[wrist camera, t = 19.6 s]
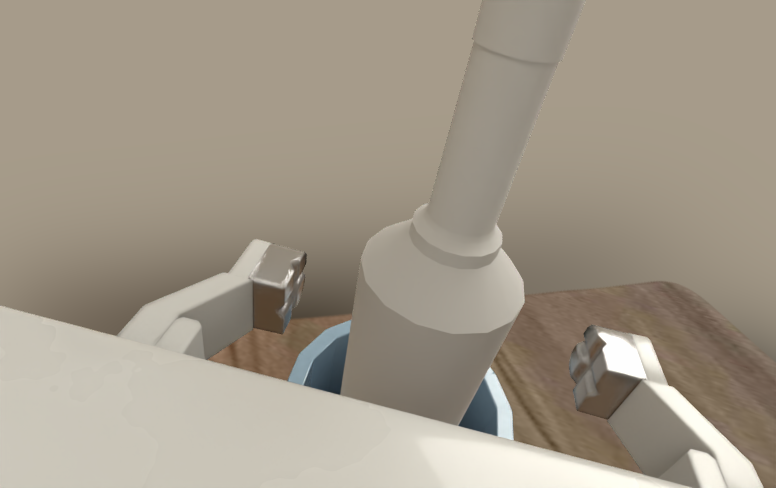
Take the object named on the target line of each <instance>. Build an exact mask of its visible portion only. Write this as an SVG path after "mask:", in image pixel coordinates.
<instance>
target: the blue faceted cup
mask: <svg viewBox="0 0 776 488" xmlns="http://www.w3.org/2000/svg"><path fill="white" fill-rule="evenodd" d="M350 326H351V320H349V321H346V322H344V323H341V324H339V325H336V326H333V327H331V328H328V329H326V330H325V331H324V332H323V333H321V334H320V335H319V336H318V337H317V338H316V339H315V340H314V341H313V342H311V343H310V344H309V345H308V346H307V347H306V348H305V349H304V350H303V351H302V352H300V354H299V355H298V357H297V360H296V362H295V364H294V367H293V369H292V371H291V373H290V376H289V378H288V380H287V381H289V382H293V383H296V384H300V385H304V386H308V387H312V388H315V389H319V390H323V391H327V392H331V393H334V394H338V395H340V393H341V386H342V379H343V373H344V366H345V359H346V353H347V346H348V340H349V333H350ZM458 426H460V427H464V428H468V429H472V430H475V431H479V432H483V433H487V434H491V435H494V436H498V437H502V438H506V439H510V440H513V441H514V439H513V416H512V410H511V407H510V405H509V402H508V400H507V398H506V396H505V394H504V391H503V389H502V387H501V385H500V382H499V380H498V378H497V376H496V374H495V373H494V371H493V370H492V369H491V368H489V369H488V371H487V373H486V375H485V377H484V379H483V381H482V382H481V384H480V386H479V388H478V390H477V392H476V394H475V396H474V397H473V399H472V401H471V403H470V405H469V407H468V409H467V410H466V412H465V414H464V416H463V418H462V420H461V422H460V423H459V425H458Z"/></svg>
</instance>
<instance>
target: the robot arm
mask: <svg viewBox="0 0 776 488" xmlns="http://www.w3.org/2000/svg"><path fill="white" fill-rule="evenodd" d="M305 265H306V253H305V252H302V251H298V250H295V249H292V248H288V247H284V246H280V245H277V244H274V243H269V242H265V241H261V240H258V239H255V240H253V241H251V243H250V244H249V245H248V247H247V248H246V250H245V251H244V252H243V254H242V255H241V257H240V258H239V259H238V261H237V262H236V263H235V265H234V266H233V268H232V269H231V270H230V272H229V273H220V274H218V275H216V276H214V277H211V278H209V279H206V280H204V281H201V282H199V283H197V284H194V285H192V286H189V287H187V288H184V289H182V290H179V291H177V292H175V293H173V294H170V295H167V296H165V297H162V298H160V299H158V300H155V301H153V302H150V303H148V304H146V305H144V306H143V307H142V308H141V309H140V310H139V311H138V312H137V313H136V315H135V316H134V317H133V318H132V319H131V320H130V321H129V323H128V324H127V325H126V326H125V327H124V328H123V329H122V330H121V332H120V333H119V334H118V335H117V336H114V335H110V334H106V333H102V332H99V331H95V330H91V329H87V328H83V327H79V326H76V325H72V324H68V323H64V322H60V321H57V320H53V319H49V318H45V317H42V316H37V315H34V314H30V313H26V312H22V311H19V310H15V309H11V308H8V307H4V306H1V305H0V488H763V486H762V484H761V482H760V480H759V477H758V475H757V473H756V471H755V469H754V467H753V465H752V463H751V462H750V461H749V460H748V459H747V458H746V457H745V456H743V455H742V454H741V453H740V452H739V451H738V450H737V449H736V448H735V447H734V446H733V445H732V444H731V443H730V442H729V441H728V440H727V439H726V438H725V437H724V436H723V435H722V434H721V433H720V432H719V431H718V430H717V429H716V428H715V427H714V426H713V425H712V424H711V423H710V422H709V421H708V420H707V419H706V418H705V417H704V416H703V415H702V414H701V413H699V412H698V411H697V410H696V409H695V408H694V407H693V406H692V405H691V404H690V403H689V402H688V401H687V400H686V399H685V398H684V397H683V396H682V395H681V394H680V393H679V392H678V391H677V390H676V389H675V388H674V387H670V386H668V384H667V381H666V379H665V376H664V374H663V371H662V369H661V366H660V364H659V361H658V358H657V356H656V353H655V351H654V348H653V346H652V343H651V341H650V340H649V339H648V338H647V337H643V336H639V335H634V334H630V333H624V332H620V331H616V330H612V329H608V328H604V327H600V326H596V325H591V326H589V327H588V328H587V329H586V331H585V332H584V338H585V341H583V342H580V343H578V344H577V345H576V346H575V348H574V350H573V351H572V354H571V358H570V363H569V370H570V376H571V378H572V379H573V380H574V381H575V382H576V384H577V385H576V386H575V388H574V389H573V393H574V398H575V403H576V409H577V411H580V412H583V413H586V414H590V415H593V416H597V417H600V418H604V419H607V421H608V423H609V424H610V426H611V427H612V429H613V430H614V432H615V433H616V434H617V436H618V437H619V439H620V440H621V442H622V443H623V445H624V446H625V448H626V449H627V451H628V452H629V453H630V455H631V456H632V458H633V459H634V461H635V462H636V464H637V465H638V467H639V468H640V469H641V471H642V472H643V474H644V475H643V474H639V473H635V472H631V471H628V470H624V469H620V468H616V467H612V466H608V465H605V464H601V463H597V462H593V461H589V460H585V459H582V458H578V457H574V456H570V455H566V454H563V453H559V452H555V451H551V450H547V449H544V448H540V447H536V446H532V445H529V444H525V443H521V442H517V441H513V440H510V439H506V438H502V437H498V436H494V435H491V434H487V433H483V432H479V431H475V430H472V429H468V428H464V427H460V426H456V425H453V424H449V423H445V422H441V421H437V420H434V419H430V418H426V417H422V416H418V415H414V414H411V413H407V412H403V411H399V410H395V409H392V408H388V407H384V406H380V405H376V404H373V403H369V402H365V401H361V400H357V399H354V398H350V397H346V396H342V395H338V394H334V393H331V392H327V391H323V390H319V389H315V388H312V387H308V386H304V385H300V384H296V383H293V382H289V381H285V380H281V379H277V378H274V377H270V376H266V375H262V374H258V373H255V372H251V371H247V370H243V369H239V368H236V367H232V366H228V365H224V364H220V363H216V362H213V361H209V360H207V359H209V358H210V357H212V356H214V355H215V354H217V353H218V352H220V351H221V350H223V349H224V348H226V347H227V346H229V345H230V344H232V343H233V342H235V341H236V340H238V339H239V338H241V337H242V336H244V335H245V334H247V333H248V332H250V331H251V330H253V328H257V329H261V330H265V331H270V332H274V333H278V334H283V333H284V331H285V329H286V327H287V325H288V323H289V321H290V319H291V312H292V311H291V310H292V308H294V307H296V306H297V304H298V302H299V300H300V297H301V294H302V291H303V286H304V281H305V274H304V273H303V269H304V267H305Z"/></svg>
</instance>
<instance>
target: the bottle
mask: <svg viewBox="0 0 776 488" xmlns="http://www.w3.org/2000/svg"><path fill="white" fill-rule="evenodd" d="M585 1H586V0H482V4H481V7H480V11H479V15H478V18H477V22H476V26H475V30H474V33H473V38H472V39H473V40H474V43H473V46H472V50H471V53H470V57H469V61H468V64H467V68H466V71H465V75H464V79H463V83H462V86H461V90H460V93H459V97H458V101H457V104H456V108H455V111H454V115H453V119H452V122H451V126H450V130H449V133H448V137H447V140H446V144H445V148H444V151H443V155H442V159H441V163H440V166H439V169H438V173H437V177H436V180H435V184H434V188H433V191H432V195H431V198H430V202H429V203H428V204H424V205H422V206H421V207H419V208H418V209H417V210H415V212H414V216H413V219H410V220H407V221H404V222H400V223H397V224H394V225H391V226H388V227H385V228H384V229H382V230H381V231H380V232H378V233H377V234H376V235H374V236H373V237H372V238H370V239H369V240H368V242H367V244H366V247H365V249H364V252H363V254H362V257H361V260H360V267H359V273H358V280H357V287H356V293H355V300H354V307H353V313H352V320H351V326H350V333H349V340H348V346H347V353H346V359H345V366H344V373H343V379H342V386H341V393H340V395H342V396H346V397H350V398H354V399H357V400H361V401H365V402H369V403H373V404H376V405H380V406H384V407H388V408H392V409H395V410H399V411H403V412H407V413H411V414H414V415H418V416H422V417H426V418H430V419H434V420H437V421H441V422H445V423H449V424H453V425H456V426H458V425H459V423H460V422H461V420H462V418H463V416H464V414H465V412H466V410H467V409H468V407H469V405H470V403H471V401H472V399H473V397H474V396H475V394H476V392H477V390H478V388H479V386H480V384H481V382H482V381H483V379H484V377H485V375H486V373H487V371H488V369H489V368H490V366H491V364H492V362H493V360H494V358H495V356H496V355H497V353H498V351H499V349H500V347H501V345H502V343H503V342H504V340H505V338H506V336H507V334H508V332H509V330H510V329H511V327H512V325H513V323H514V321H515V319H516V317H517V315H518V314H519V312H520V310H521V308H522V306H523V304H524V302H525V301H524V287H523V280H522V278H521V276H520V275H519V273H518V271H517V270H516V268H515V266H514V265H513V263H512V261H511V260H510V259H509V257H508V256H507V255H506V253H505V252H504V251H503V249H502V248H501V245H502V233H501V231H500V229H499V228H498V226H497V225H496V223H497V221H498V218H499V215H500V212H501V210H502V207H503V205H504V202H505V200H506V197H507V194H508V192H509V189H510V187H511V184H512V182H513V179H514V177H515V174H516V170H517V169H518V166H519V164H520V161H521V158H522V156H523V153H524V151H525V148H526V145H527V143H528V140H529V138H530V135H531V132H532V130H533V127H534V125H535V122H536V120H537V117H538V114H539V112H540V109H541V107H542V104H543V102H544V99H545V96H546V94H547V91H548V89H549V86H550V83H551V81H552V78H553V76H554V73H555V70H556V68H557V65H558V63H559V62H560V61H562V59H563V57H564V55H565V52H566V50H567V47H568V44H569V42H570V39H571V36H572V34H573V32H574V29H575V27H576V24H577V22H578V19H579V17H580V14H581V11H582V9H583V6H584V4H585Z"/></svg>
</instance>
